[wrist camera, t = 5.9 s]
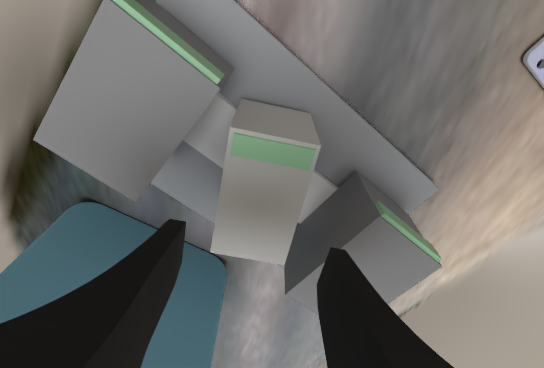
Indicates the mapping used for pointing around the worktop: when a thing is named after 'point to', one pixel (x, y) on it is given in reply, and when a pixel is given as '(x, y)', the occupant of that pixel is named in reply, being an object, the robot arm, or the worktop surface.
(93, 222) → the data package
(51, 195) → the worktop surface
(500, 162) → the worktop surface
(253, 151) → the module
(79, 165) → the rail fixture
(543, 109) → the worktop surface
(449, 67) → the worktop surface
